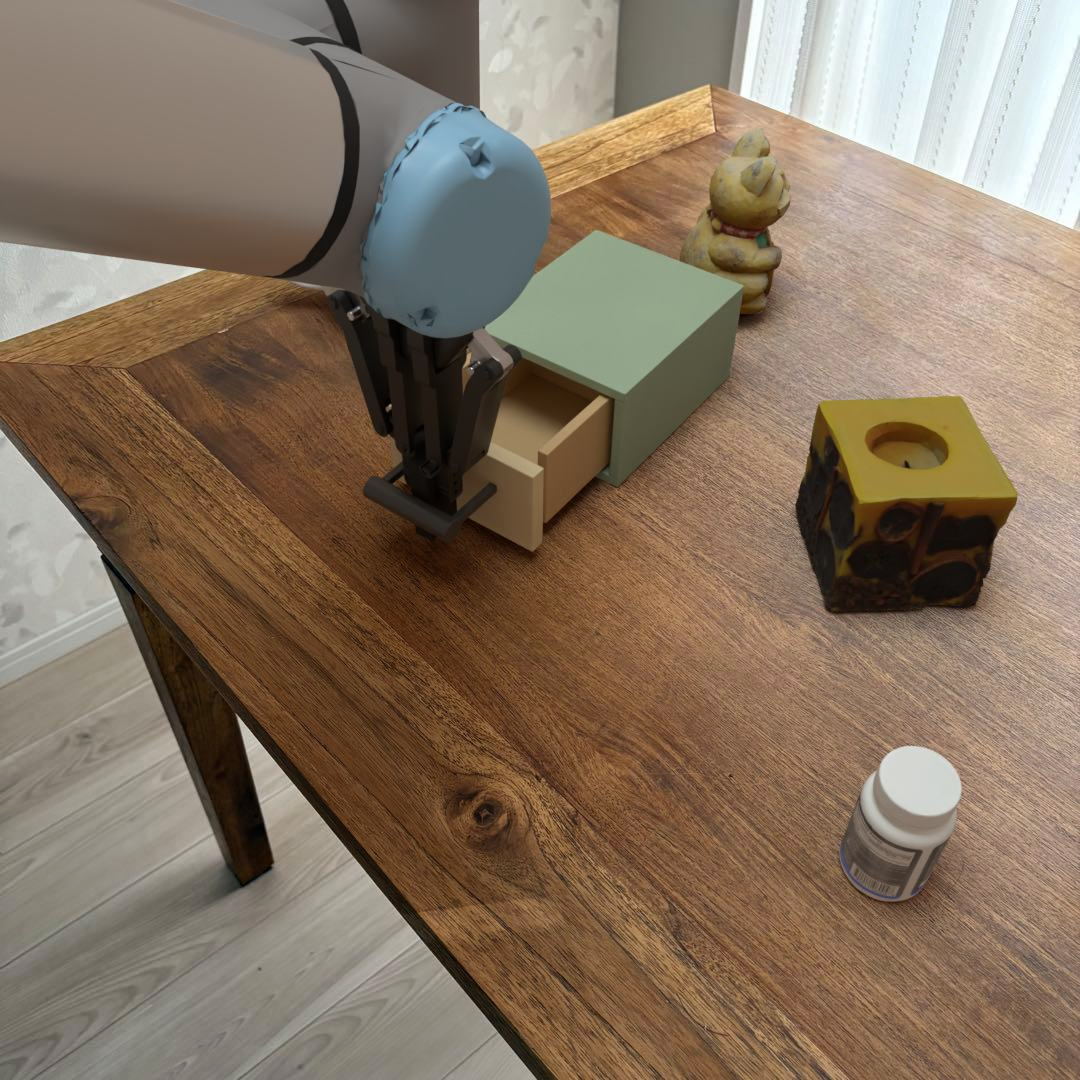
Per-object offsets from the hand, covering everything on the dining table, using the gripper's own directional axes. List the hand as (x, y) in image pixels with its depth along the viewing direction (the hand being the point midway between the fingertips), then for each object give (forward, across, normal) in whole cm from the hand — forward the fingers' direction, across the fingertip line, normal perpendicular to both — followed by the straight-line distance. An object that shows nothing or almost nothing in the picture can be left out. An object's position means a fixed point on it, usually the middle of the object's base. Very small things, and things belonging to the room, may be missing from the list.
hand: (436, 526), depth 75 cm
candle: (+2, -25, -17) cm, 30 cm away
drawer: (+1, 0, -7) cm, 7 cm away
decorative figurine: (+2, -1, -38) cm, 38 cm away
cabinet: (+2, 0, -20) cm, 20 cm away
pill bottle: (+2, -35, +4) cm, 35 cm away
